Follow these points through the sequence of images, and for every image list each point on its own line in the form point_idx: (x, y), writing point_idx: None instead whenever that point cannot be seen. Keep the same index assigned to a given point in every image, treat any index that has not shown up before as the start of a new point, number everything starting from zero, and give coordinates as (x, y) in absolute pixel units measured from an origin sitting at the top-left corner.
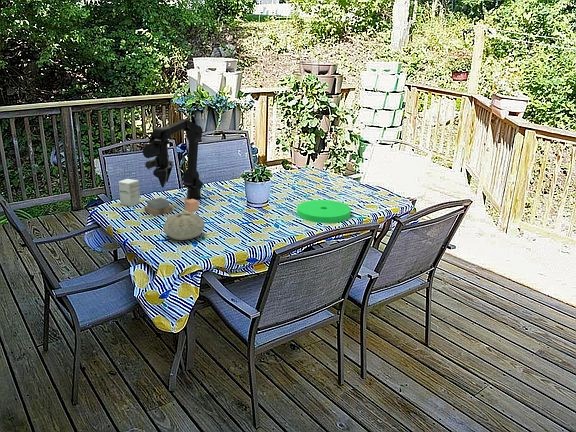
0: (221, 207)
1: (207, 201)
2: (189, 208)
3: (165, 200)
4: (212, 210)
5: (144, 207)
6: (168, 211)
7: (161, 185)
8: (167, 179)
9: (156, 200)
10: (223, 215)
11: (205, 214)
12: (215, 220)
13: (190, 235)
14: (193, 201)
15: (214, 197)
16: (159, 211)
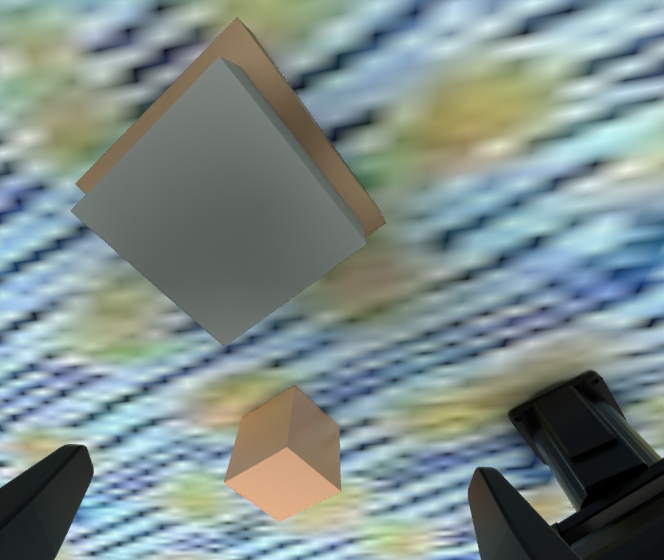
0: (333, 539)
1: (461, 483)
2: (244, 433)
3: (246, 307)
4: None
5: (236, 24)
6: None
7: (19, 484)
8: (486, 554)
9: (240, 203)
10: (199, 549)
11: (205, 486)
12: (112, 526)
13: None
14: (263, 498)
15: (535, 508)
16: None
